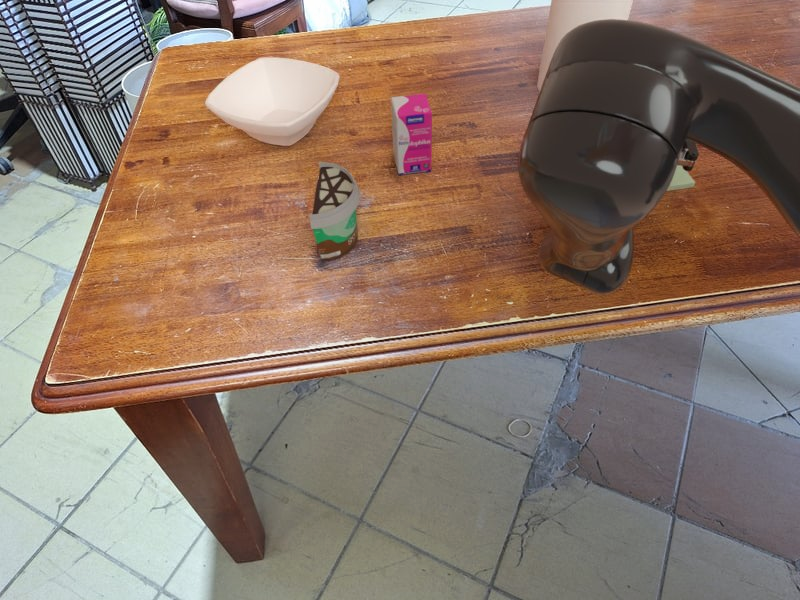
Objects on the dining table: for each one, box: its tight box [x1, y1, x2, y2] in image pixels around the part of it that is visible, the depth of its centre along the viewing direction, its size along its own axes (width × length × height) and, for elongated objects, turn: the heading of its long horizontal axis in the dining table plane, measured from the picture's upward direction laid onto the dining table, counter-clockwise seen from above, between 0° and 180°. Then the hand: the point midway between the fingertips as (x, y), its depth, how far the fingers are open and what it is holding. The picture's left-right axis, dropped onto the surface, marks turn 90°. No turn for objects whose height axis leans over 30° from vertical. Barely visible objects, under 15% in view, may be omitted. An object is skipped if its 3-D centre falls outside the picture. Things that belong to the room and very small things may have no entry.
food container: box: [308, 161, 361, 263], centre depth 76 cm, size 12×6×10 cm, turn 179°
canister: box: [536, 0, 634, 93], centre depth 96 cm, size 14×14×20 cm
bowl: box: [204, 56, 340, 147], centre depth 95 cm, size 21×21×9 cm
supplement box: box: [390, 93, 433, 176], centre depth 86 cm, size 6×6×12 cm
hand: (665, 116), depth 79 cm, fingers closed on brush, 3 cm apart
